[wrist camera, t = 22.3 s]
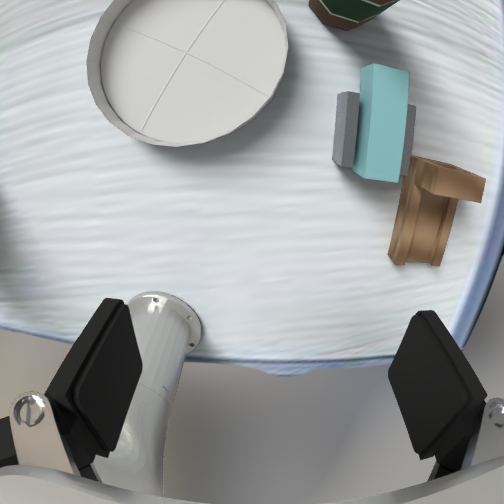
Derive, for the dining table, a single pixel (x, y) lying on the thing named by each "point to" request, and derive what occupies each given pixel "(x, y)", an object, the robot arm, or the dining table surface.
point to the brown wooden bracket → (430, 209)
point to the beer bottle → (348, 11)
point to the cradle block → (348, 131)
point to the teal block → (381, 122)
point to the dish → (186, 66)
